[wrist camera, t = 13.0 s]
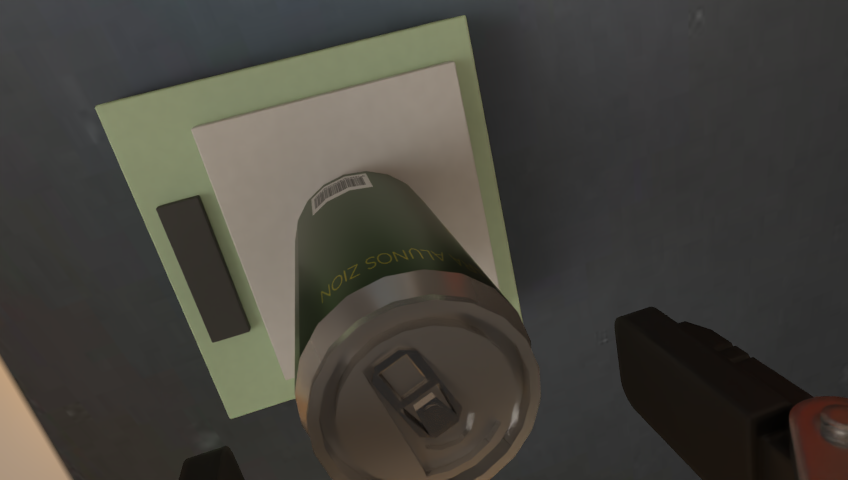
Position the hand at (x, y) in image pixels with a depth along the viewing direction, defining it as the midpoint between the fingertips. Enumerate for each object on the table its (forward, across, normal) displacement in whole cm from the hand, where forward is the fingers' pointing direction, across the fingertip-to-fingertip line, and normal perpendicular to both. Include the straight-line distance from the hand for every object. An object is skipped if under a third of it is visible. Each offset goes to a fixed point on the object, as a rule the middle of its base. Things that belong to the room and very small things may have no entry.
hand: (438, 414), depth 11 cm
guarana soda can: (+12, 0, 0) cm, 13 cm away
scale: (+16, +1, 0) cm, 16 cm away
